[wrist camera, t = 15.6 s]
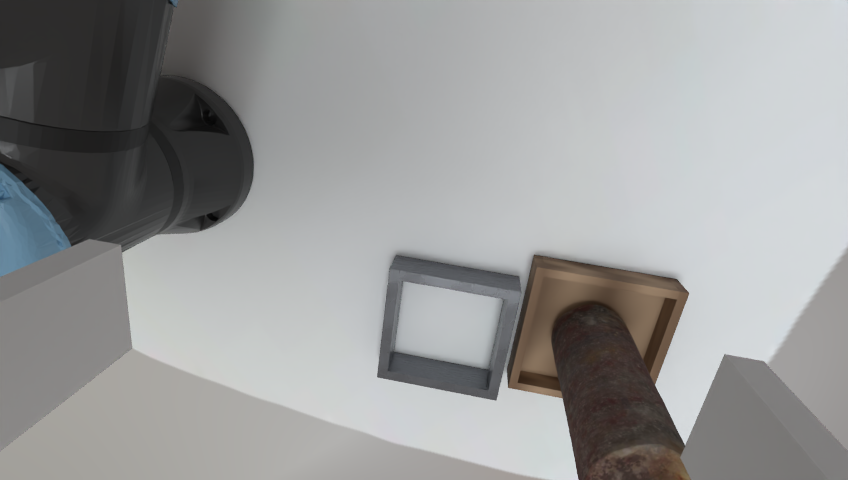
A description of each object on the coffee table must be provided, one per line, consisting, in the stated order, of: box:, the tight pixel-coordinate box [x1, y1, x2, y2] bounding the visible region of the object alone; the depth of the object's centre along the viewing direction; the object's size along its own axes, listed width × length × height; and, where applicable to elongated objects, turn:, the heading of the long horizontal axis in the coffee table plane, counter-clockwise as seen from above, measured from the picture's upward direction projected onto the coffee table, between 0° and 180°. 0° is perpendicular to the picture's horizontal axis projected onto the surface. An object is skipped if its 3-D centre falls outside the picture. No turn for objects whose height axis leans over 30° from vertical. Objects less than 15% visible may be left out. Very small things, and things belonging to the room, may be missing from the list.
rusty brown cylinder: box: [551, 304, 691, 480], centre depth 37 cm, size 8×7×20 cm
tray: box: [507, 255, 689, 398], centre depth 46 cm, size 14×14×3 cm
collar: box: [377, 255, 521, 400], centre depth 48 cm, size 12×12×4 cm
